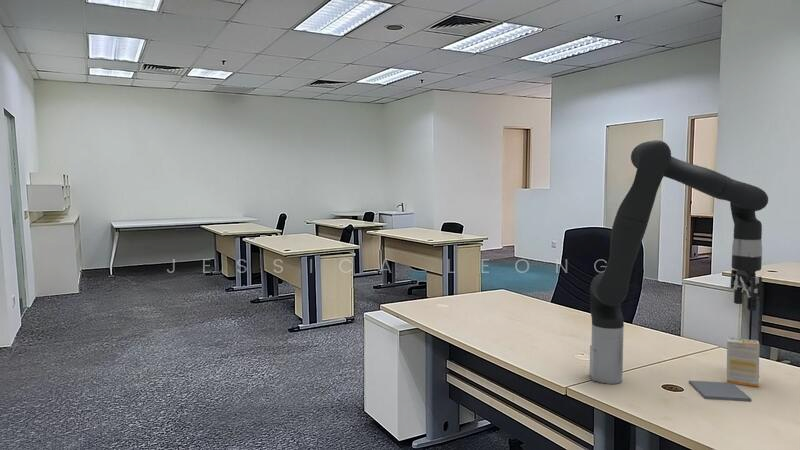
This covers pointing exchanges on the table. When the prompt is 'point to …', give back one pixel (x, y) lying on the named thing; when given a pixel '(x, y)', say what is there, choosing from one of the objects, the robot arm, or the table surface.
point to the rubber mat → (719, 390)
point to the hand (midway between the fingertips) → (744, 306)
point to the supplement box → (743, 361)
